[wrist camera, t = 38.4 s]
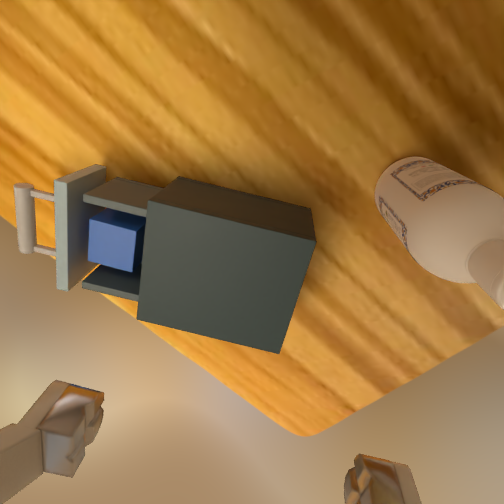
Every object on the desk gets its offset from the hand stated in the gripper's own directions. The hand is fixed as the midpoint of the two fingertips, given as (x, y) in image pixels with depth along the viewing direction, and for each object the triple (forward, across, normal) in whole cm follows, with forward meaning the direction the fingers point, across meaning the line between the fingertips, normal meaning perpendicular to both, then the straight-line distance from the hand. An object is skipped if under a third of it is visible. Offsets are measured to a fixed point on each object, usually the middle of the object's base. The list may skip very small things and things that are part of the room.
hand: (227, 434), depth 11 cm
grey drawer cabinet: (+29, +3, +7) cm, 30 cm away
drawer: (+28, +15, +7) cm, 33 cm away
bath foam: (+29, -14, -4) cm, 32 cm away
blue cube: (+27, +14, +7) cm, 31 cm away
